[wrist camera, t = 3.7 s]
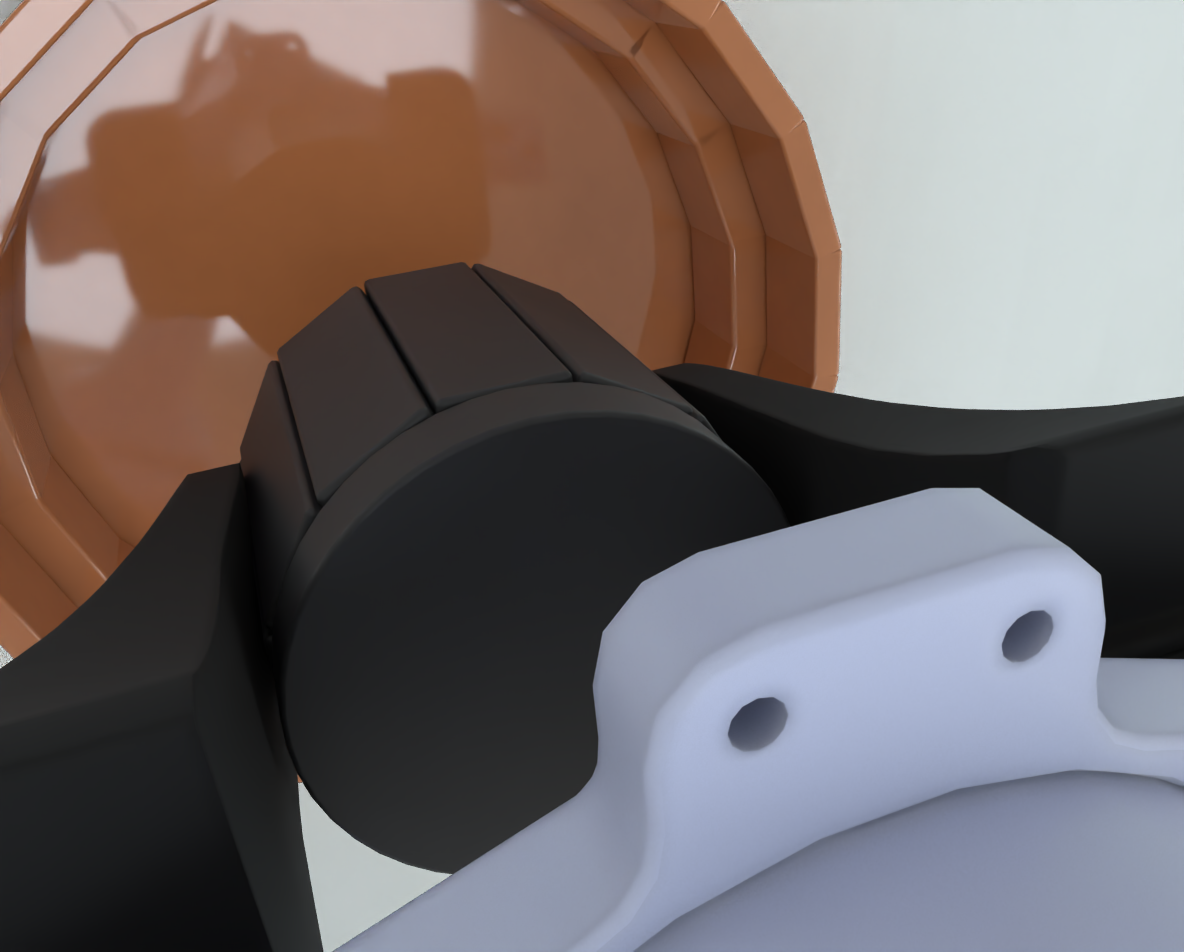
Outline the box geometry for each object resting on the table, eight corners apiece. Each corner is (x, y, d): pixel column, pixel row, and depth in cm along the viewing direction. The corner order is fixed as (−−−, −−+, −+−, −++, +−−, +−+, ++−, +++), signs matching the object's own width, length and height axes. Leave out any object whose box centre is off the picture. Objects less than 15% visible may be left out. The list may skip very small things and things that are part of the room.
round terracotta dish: (741, 553, 24) (833, 651, 21) (92, 734, 21) (78, 887, 17) (723, -156, 18) (854, -179, 14) (-234, -72, 14) (-362, -79, 11)
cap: (637, 568, 16) (803, 785, 12) (294, 663, 15) (344, 945, 11) (611, 232, 14) (807, 355, 10) (196, 309, 12) (210, 494, 8)
